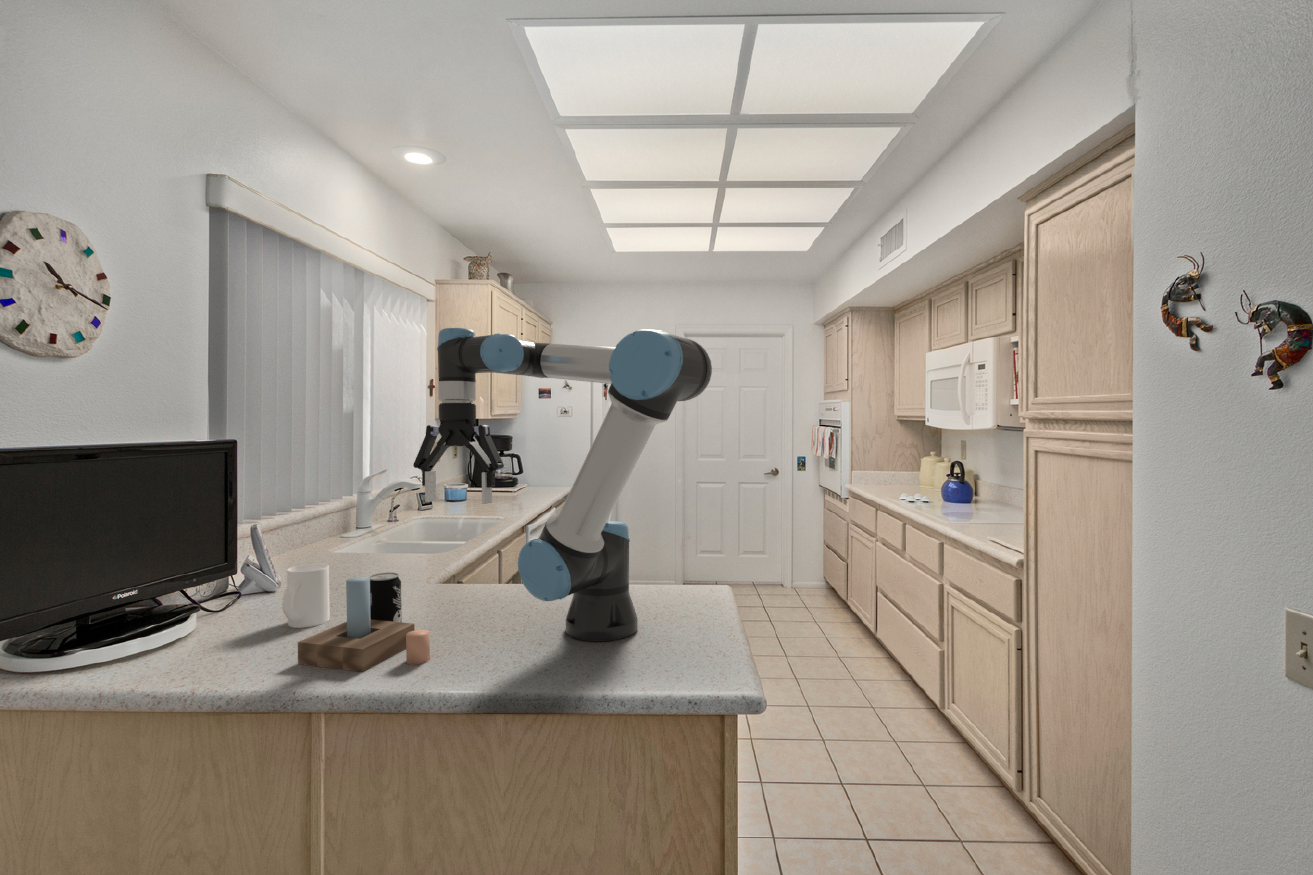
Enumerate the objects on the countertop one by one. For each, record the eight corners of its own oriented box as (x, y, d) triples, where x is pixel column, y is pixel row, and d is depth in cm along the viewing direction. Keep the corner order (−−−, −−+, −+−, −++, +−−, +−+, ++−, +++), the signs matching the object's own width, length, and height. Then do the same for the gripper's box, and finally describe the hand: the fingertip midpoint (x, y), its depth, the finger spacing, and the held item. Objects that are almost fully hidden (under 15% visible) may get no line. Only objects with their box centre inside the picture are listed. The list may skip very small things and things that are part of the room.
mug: (265, 634, 125) (264, 576, 124) (301, 615, 137) (300, 563, 136) (304, 634, 124) (303, 576, 124) (337, 616, 136) (336, 563, 136)
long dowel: (375, 650, 115) (374, 577, 115) (360, 658, 112) (359, 583, 111) (358, 648, 116) (357, 576, 116) (342, 656, 113) (341, 581, 112)
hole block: (414, 643, 119) (414, 623, 119) (363, 671, 105) (362, 649, 105) (355, 637, 123) (354, 618, 122) (297, 664, 109) (297, 642, 109)
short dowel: (434, 657, 112) (434, 630, 112) (420, 665, 108) (420, 638, 108) (415, 655, 113) (415, 628, 113) (401, 663, 109) (401, 636, 109)
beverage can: (388, 639, 121) (387, 580, 121) (359, 637, 122) (358, 579, 122) (408, 629, 128) (407, 572, 127) (380, 627, 129) (380, 571, 129)
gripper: (519, 402, 128) (520, 501, 129) (417, 403, 135) (419, 498, 135) (501, 400, 121) (502, 506, 121) (395, 402, 127) (396, 502, 128)
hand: (458, 502), depth 128 cm, fingers open, 13 cm apart
